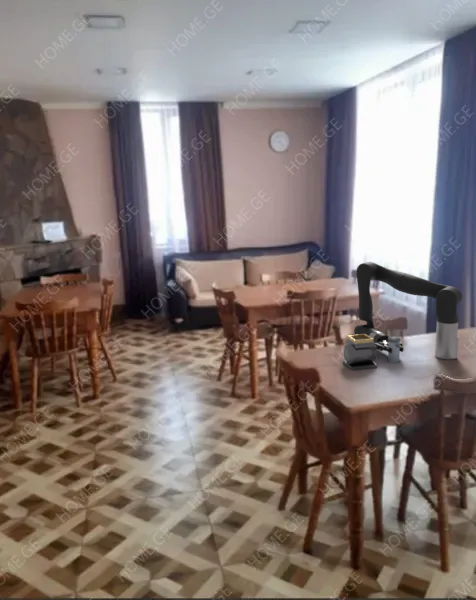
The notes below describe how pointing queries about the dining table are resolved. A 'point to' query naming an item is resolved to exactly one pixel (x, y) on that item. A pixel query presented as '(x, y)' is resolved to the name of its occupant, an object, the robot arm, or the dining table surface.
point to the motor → (360, 352)
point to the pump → (394, 349)
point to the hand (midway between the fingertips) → (396, 350)
